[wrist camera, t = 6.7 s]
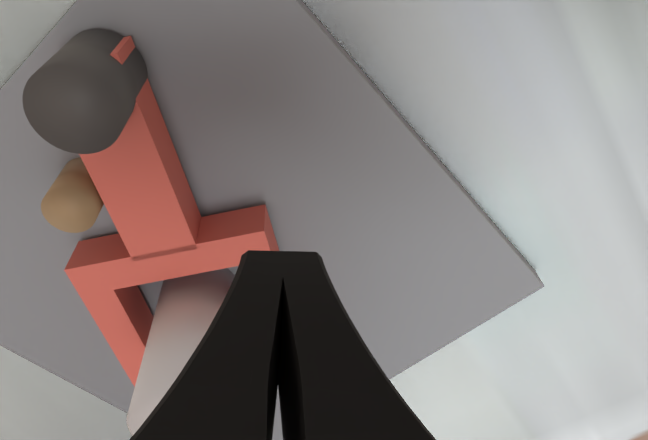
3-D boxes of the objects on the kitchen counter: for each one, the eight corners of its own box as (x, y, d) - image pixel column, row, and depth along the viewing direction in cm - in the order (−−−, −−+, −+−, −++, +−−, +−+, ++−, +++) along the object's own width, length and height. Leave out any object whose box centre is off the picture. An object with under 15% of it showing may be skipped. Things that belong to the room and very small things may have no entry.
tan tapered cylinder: (93, 206, 19) (75, 241, 17) (52, 177, 18) (30, 210, 17) (122, 179, 19) (107, 212, 17) (81, 148, 18) (61, 178, 16)
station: (237, 453, 29) (226, 603, 24) (-134, 247, 21) (-296, 405, 15) (535, 270, 23) (618, 410, 18) (191, -129, 15) (132, -110, 9)
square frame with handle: (305, 337, 23) (308, 397, 21) (148, 366, 23) (133, 428, 21) (204, 3, 15) (190, 34, 13) (-26, 54, 16) (-84, 93, 13)
